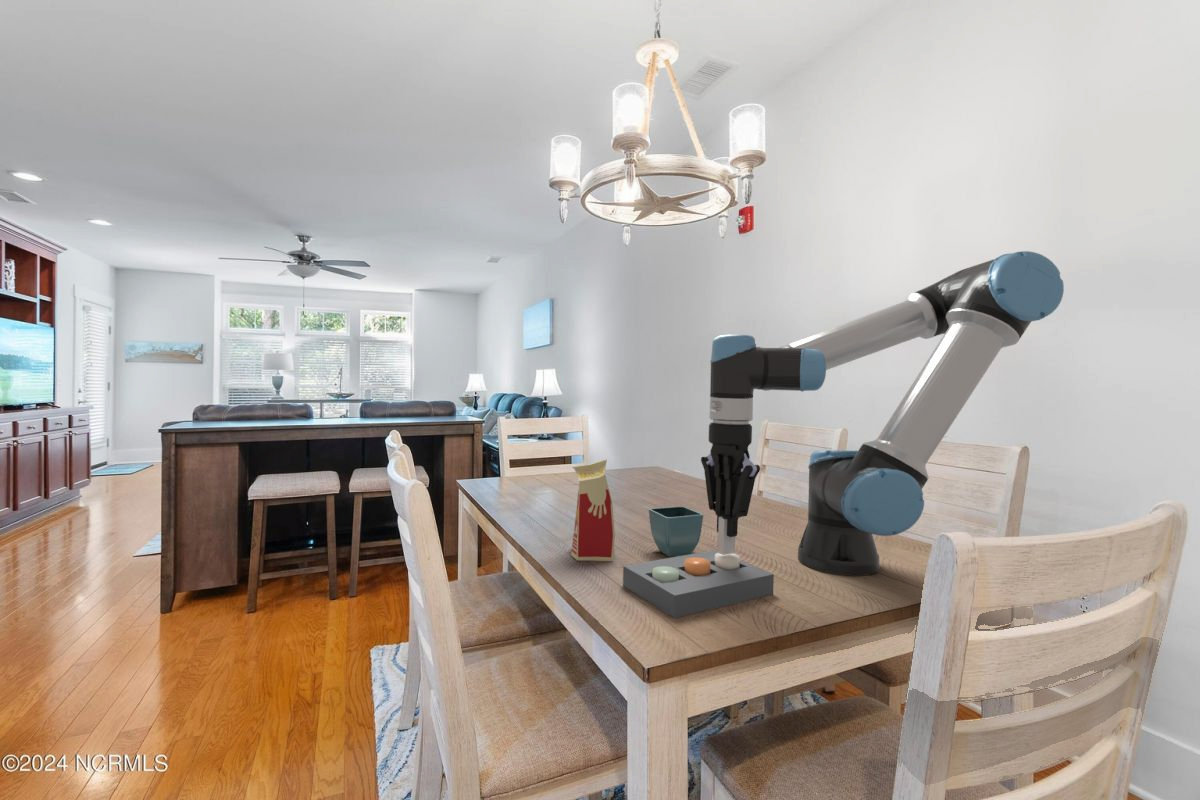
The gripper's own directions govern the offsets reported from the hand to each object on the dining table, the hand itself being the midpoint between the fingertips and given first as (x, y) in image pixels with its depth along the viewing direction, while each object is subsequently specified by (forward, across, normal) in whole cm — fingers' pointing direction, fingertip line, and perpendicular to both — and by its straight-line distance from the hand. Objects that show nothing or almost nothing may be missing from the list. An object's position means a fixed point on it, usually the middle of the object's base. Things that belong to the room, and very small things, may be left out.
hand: (726, 552), depth 97 cm
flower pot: (+6, -18, +2) cm, 19 cm away
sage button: (+4, 0, -13) cm, 14 cm away
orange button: (+3, 0, -7) cm, 7 cm away
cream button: (+3, 0, 0) cm, 3 cm away
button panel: (+6, 0, -7) cm, 9 cm away
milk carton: (+6, -25, -14) cm, 29 cm away
